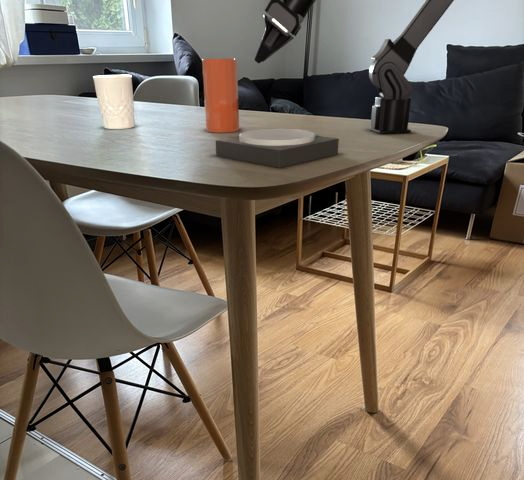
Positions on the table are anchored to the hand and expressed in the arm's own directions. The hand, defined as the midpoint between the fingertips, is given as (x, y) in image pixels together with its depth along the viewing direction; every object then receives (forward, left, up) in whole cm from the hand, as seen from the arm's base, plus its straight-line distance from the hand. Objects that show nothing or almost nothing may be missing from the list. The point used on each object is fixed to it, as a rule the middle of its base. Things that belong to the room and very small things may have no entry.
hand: (258, 61), depth 99 cm
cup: (+7, -4, -13) cm, 15 cm away
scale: (+1, +26, -13) cm, 29 cm away
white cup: (+29, -14, -13) cm, 35 cm away
